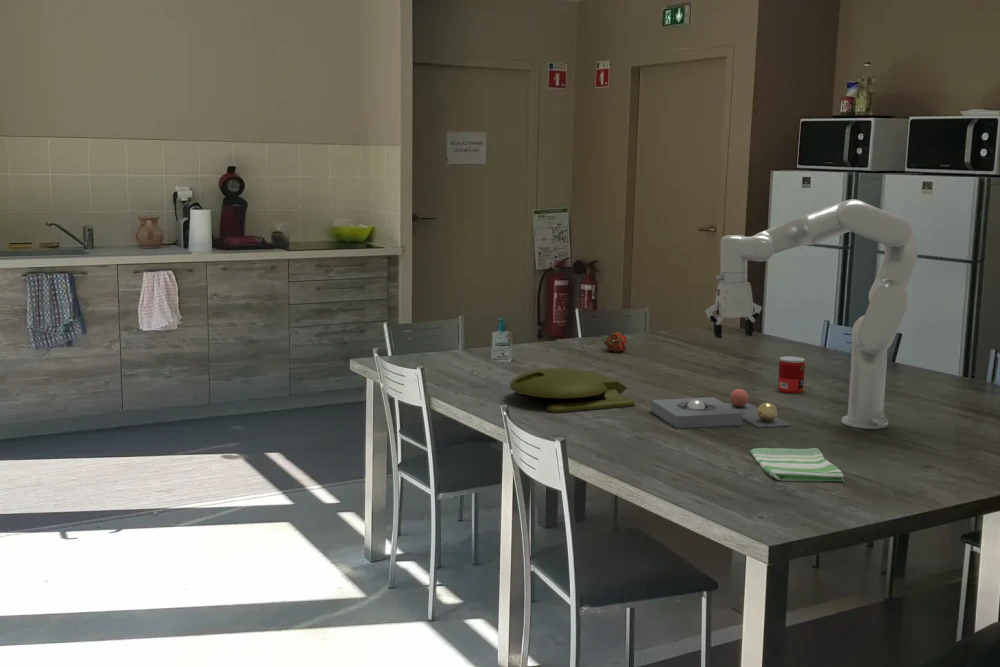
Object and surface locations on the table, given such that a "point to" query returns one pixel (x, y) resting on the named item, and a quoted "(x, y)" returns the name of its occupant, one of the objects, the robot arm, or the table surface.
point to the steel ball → (696, 404)
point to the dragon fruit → (616, 342)
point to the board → (696, 413)
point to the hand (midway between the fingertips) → (733, 336)
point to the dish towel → (796, 464)
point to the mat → (752, 417)
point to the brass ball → (767, 412)
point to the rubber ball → (739, 397)
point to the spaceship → (571, 388)
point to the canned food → (791, 374)
